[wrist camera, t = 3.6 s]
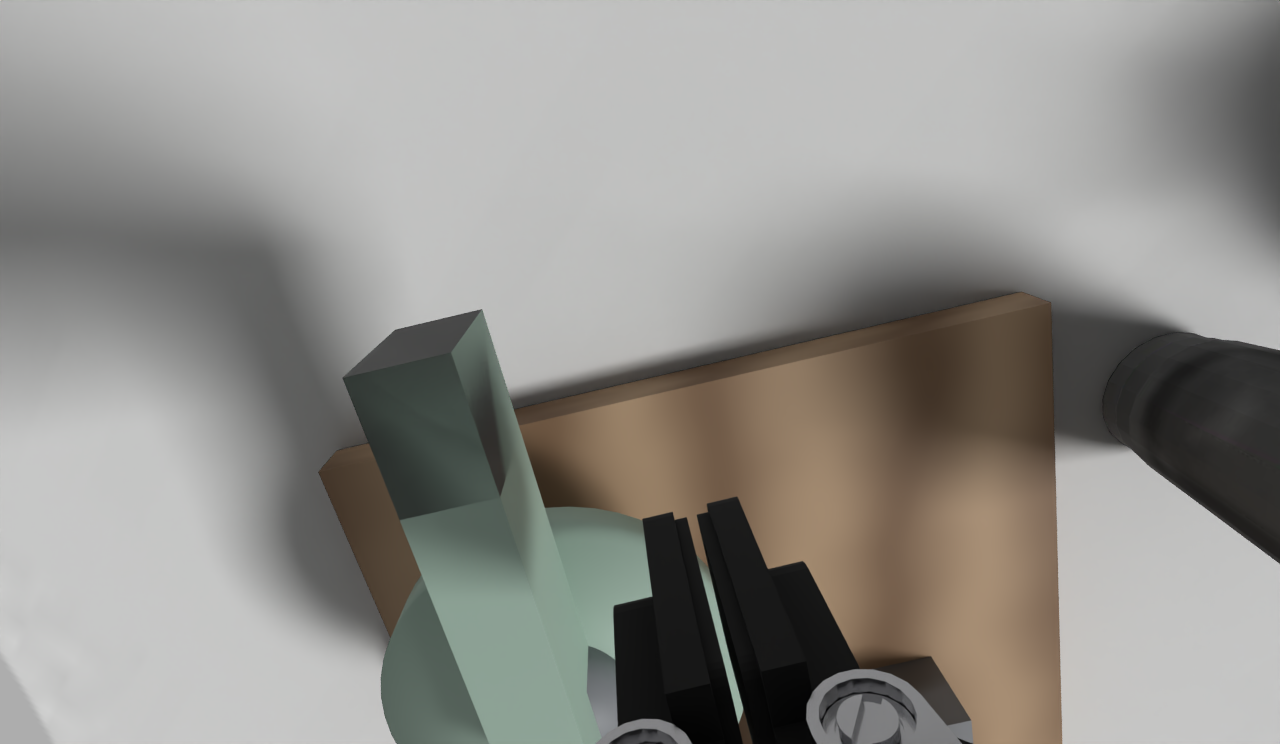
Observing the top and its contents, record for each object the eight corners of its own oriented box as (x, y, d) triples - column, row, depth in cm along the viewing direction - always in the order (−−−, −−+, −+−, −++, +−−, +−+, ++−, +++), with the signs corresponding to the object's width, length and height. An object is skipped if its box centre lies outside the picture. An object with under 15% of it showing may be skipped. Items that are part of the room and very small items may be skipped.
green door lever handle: (761, 743, 22) (802, 902, 17) (459, 808, 22) (421, 982, 17) (652, 255, 16) (671, 300, 12) (257, 349, 17) (128, 428, 12)
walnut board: (1021, 291, 23) (1130, 331, 18) (1040, 766, 30) (1121, 883, 25) (336, 450, 24) (269, 529, 19) (516, 877, 31) (500, 1011, 26)
